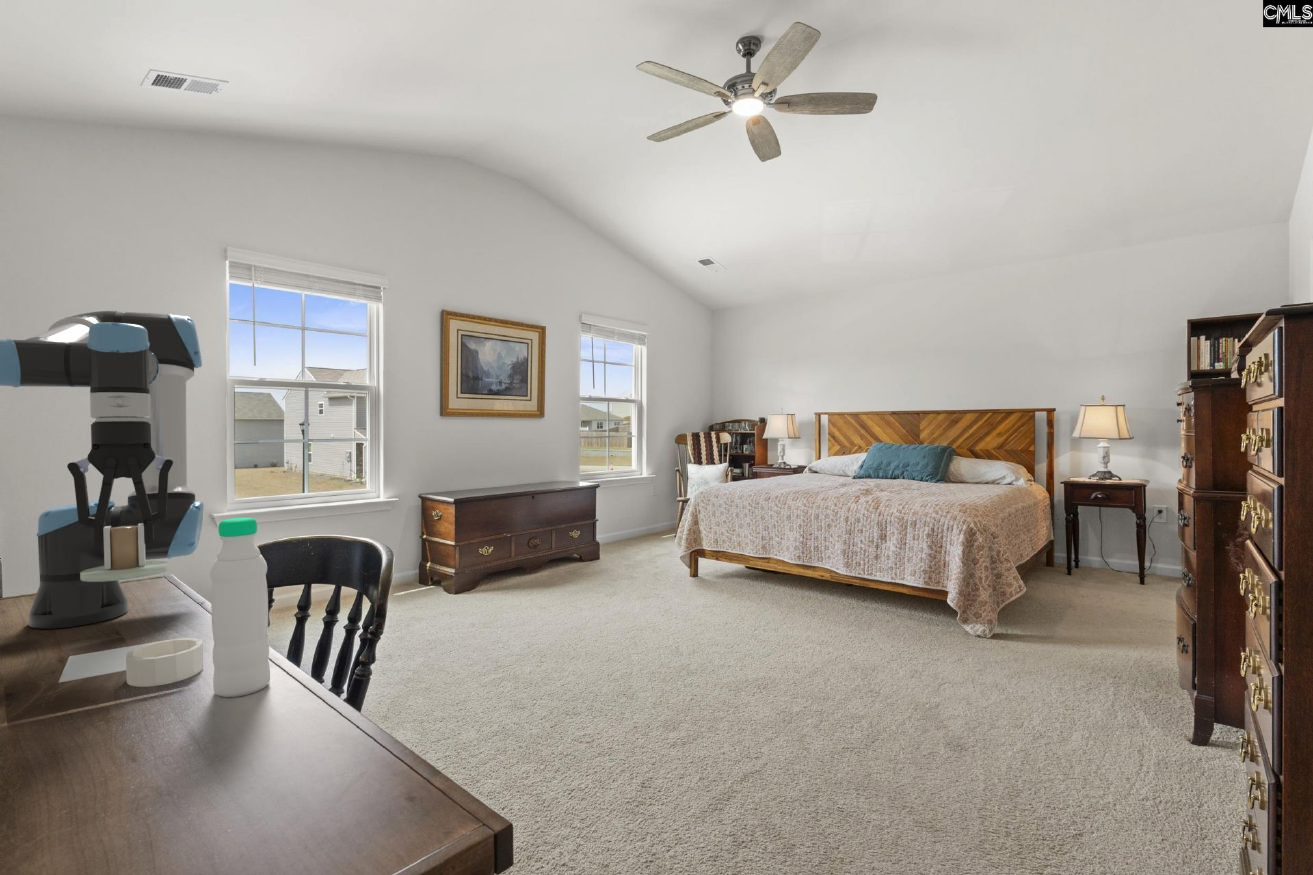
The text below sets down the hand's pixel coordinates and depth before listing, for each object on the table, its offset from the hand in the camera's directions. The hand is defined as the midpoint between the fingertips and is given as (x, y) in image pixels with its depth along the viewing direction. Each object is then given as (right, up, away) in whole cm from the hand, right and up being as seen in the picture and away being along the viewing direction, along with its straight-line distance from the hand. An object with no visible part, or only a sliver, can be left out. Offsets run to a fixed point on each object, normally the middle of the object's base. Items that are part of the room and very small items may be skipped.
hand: (125, 565), depth 107 cm
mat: (-3, -16, +2) cm, 17 cm away
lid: (0, -1, 0) cm, 1 cm away
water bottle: (+25, -16, -9) cm, 31 cm away
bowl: (+10, -16, -4) cm, 19 cm away
